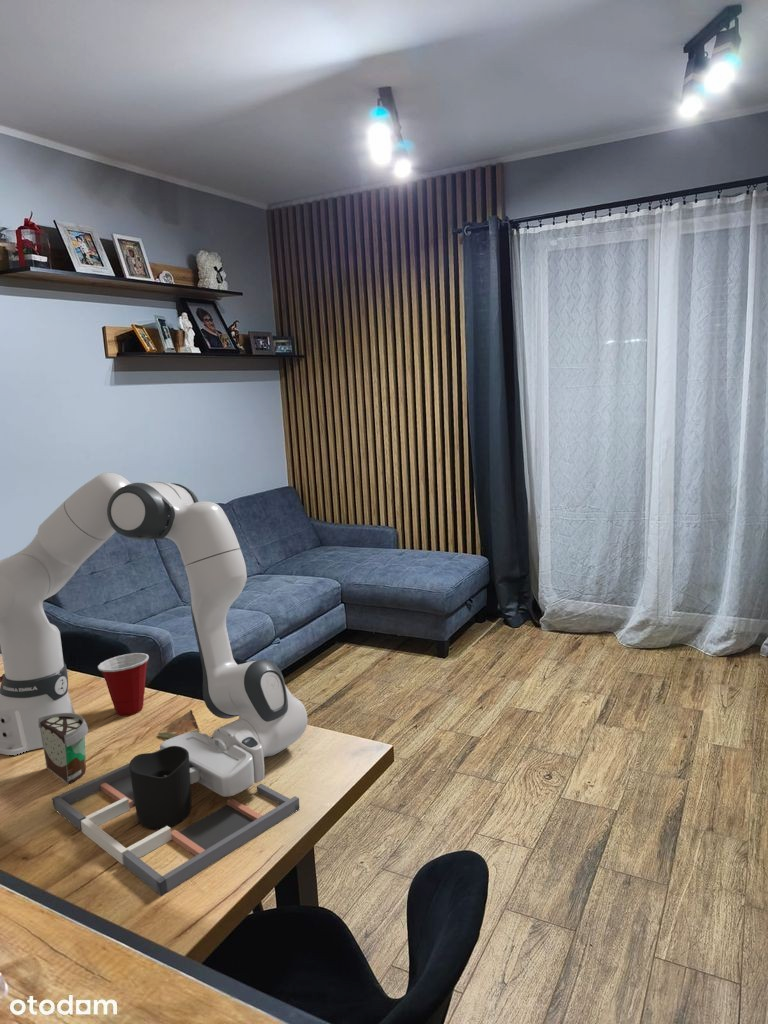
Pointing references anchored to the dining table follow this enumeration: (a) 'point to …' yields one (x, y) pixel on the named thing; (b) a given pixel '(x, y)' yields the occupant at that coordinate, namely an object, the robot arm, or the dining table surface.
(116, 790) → the box
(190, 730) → the shard
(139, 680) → the plastic cup
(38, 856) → the dining table surface
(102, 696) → the dining table surface
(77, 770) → the food container
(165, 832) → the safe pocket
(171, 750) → the pen holder
